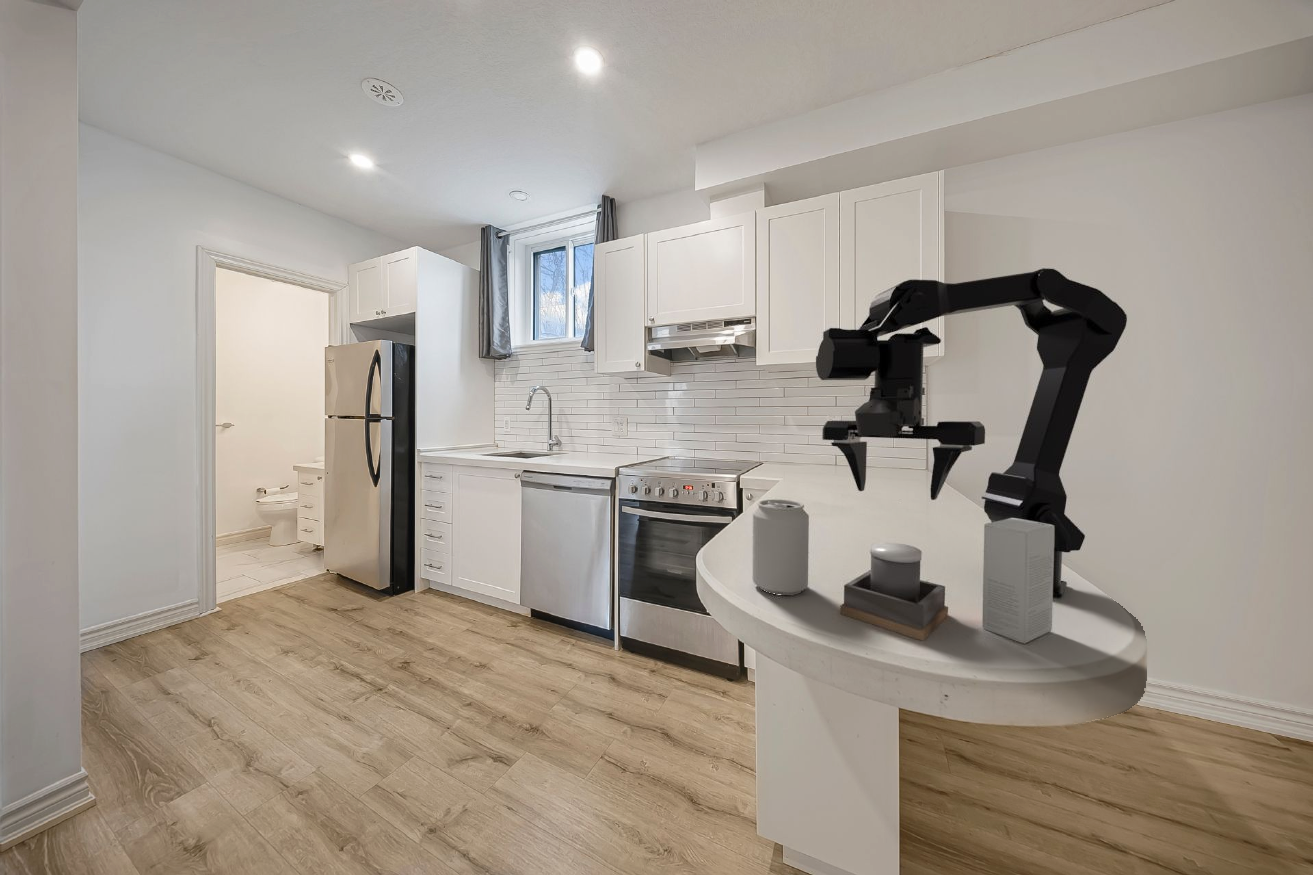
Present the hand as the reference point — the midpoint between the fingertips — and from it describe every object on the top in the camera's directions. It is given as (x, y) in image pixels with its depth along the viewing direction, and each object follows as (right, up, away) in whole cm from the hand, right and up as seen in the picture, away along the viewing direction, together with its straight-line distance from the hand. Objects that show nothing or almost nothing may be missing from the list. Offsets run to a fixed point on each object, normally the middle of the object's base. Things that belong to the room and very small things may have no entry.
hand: (895, 495), depth 61 cm
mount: (-4, -13, -7) cm, 16 cm away
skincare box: (+7, -14, -11) cm, 19 cm away
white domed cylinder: (-4, -12, -7) cm, 15 cm away
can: (-15, -13, +1) cm, 20 cm away
